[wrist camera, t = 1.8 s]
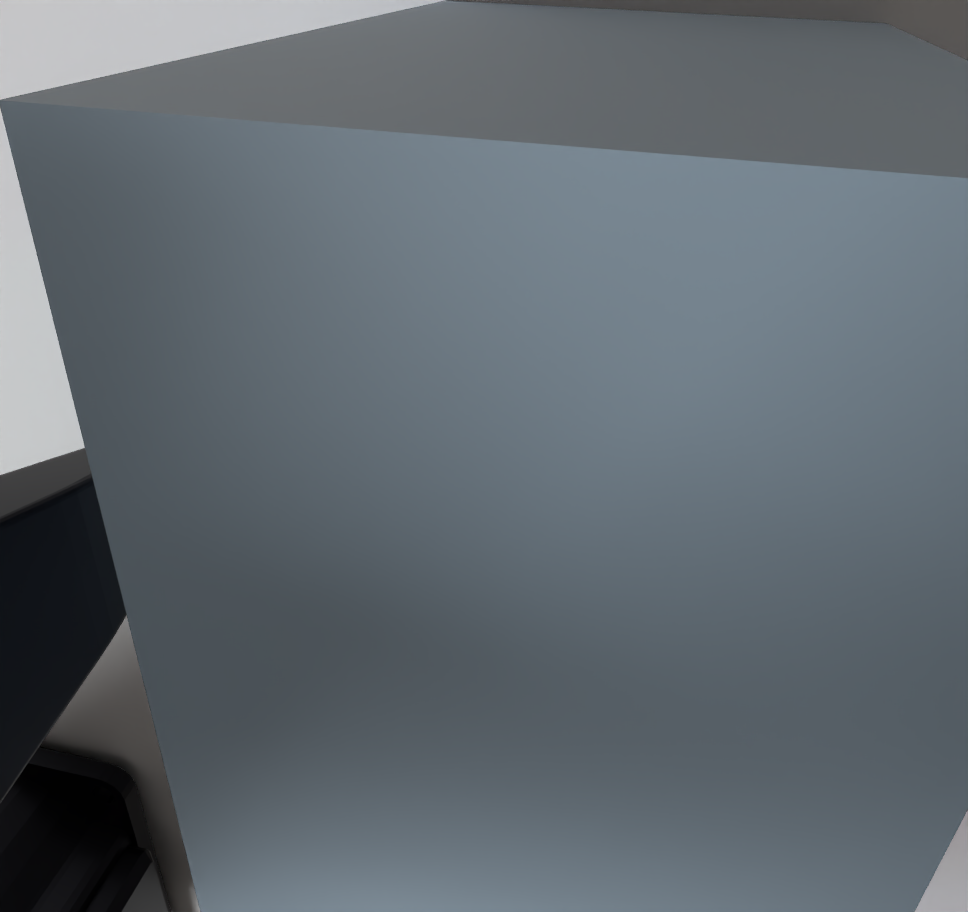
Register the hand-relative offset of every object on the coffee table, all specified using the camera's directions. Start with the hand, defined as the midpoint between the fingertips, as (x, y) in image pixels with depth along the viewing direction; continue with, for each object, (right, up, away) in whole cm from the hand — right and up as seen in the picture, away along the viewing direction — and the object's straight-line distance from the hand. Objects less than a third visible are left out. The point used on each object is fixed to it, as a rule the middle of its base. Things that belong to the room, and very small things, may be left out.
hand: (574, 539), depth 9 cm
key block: (+1, +2, +3) cm, 3 cm away
